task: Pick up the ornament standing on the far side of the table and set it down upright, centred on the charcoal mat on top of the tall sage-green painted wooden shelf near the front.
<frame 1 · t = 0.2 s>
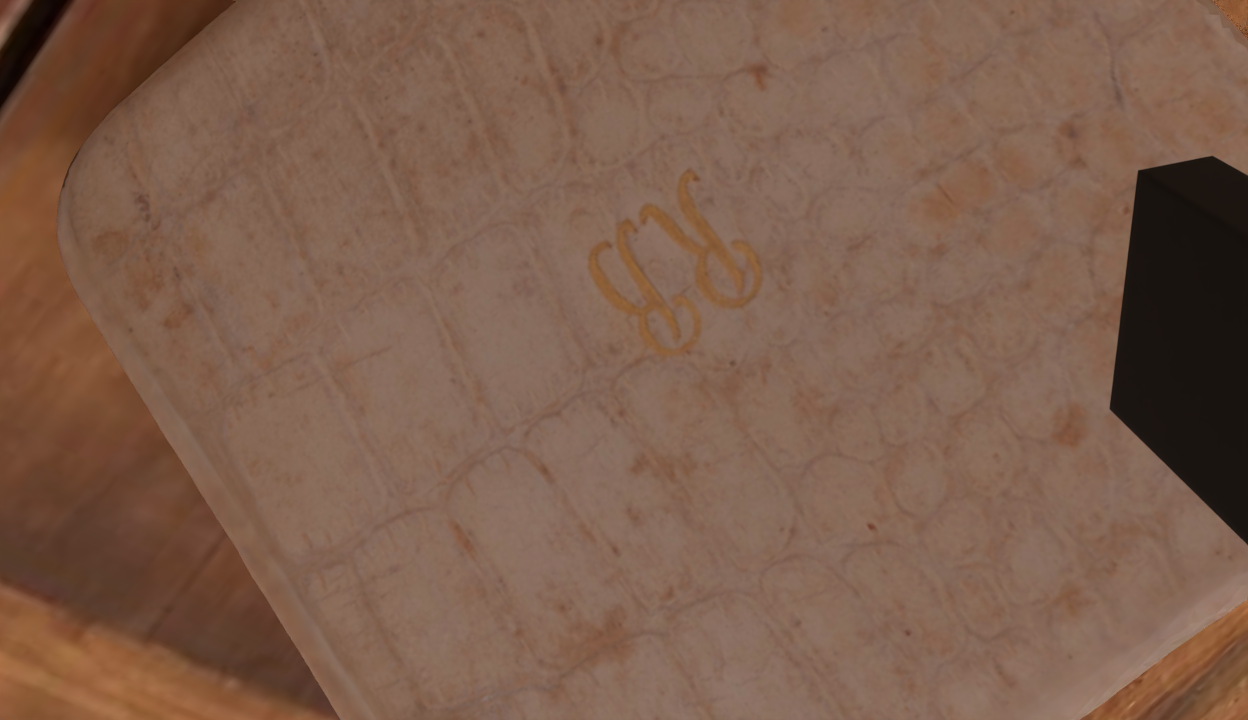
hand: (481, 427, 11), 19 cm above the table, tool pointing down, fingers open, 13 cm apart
case: (643, 196, 31), on the table
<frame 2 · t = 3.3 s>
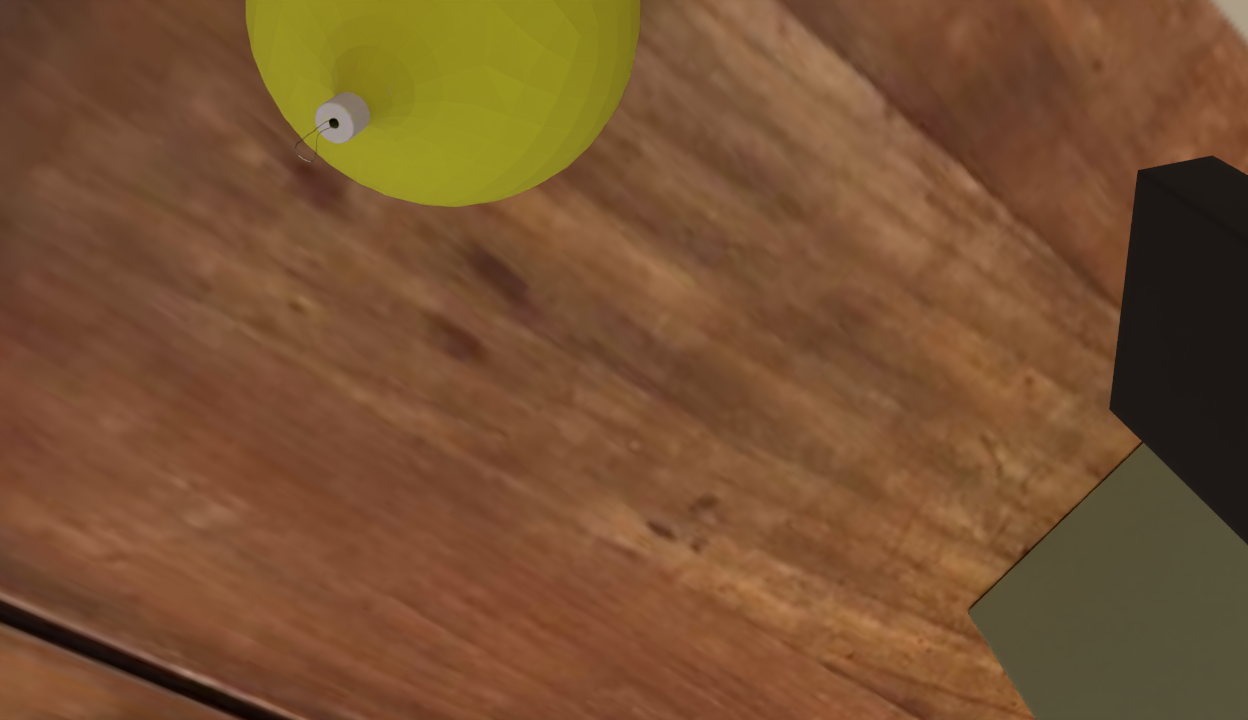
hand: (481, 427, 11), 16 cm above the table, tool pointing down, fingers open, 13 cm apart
shelf: (1212, 556, 38), on the table
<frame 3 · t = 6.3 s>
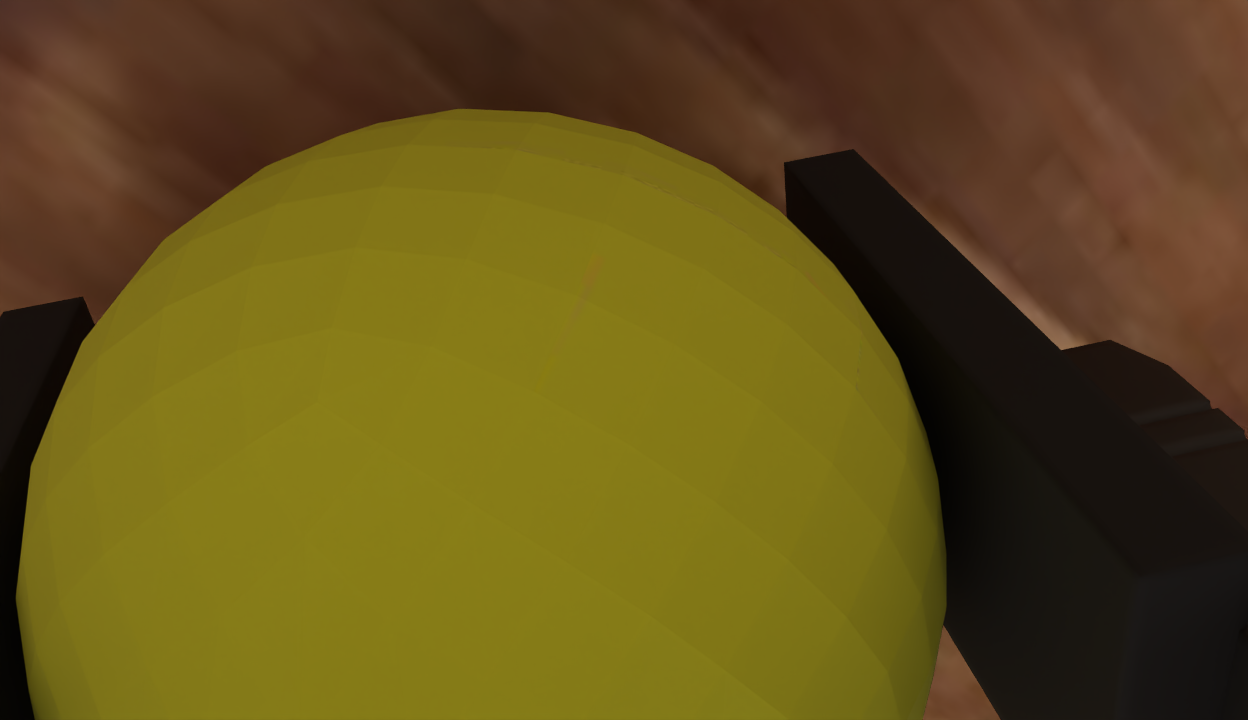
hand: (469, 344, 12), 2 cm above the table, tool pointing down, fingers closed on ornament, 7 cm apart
ornament: (468, 333, 13), point 1 cm above the table, touching gripper
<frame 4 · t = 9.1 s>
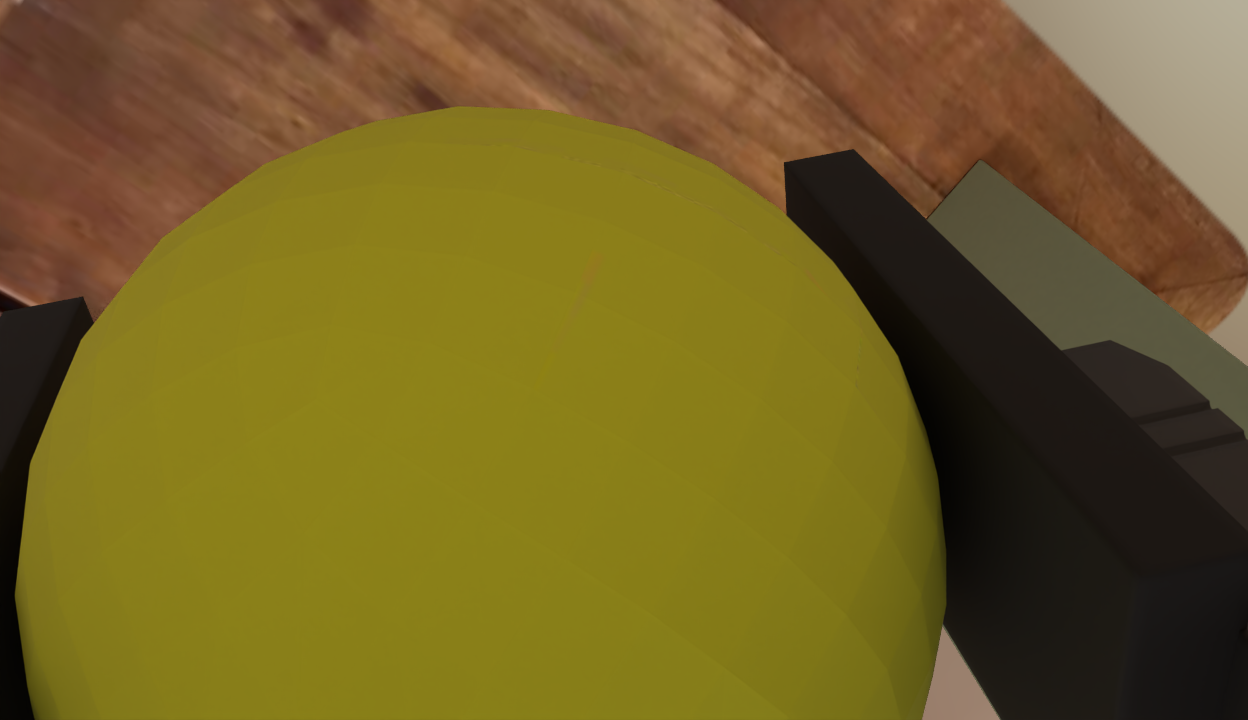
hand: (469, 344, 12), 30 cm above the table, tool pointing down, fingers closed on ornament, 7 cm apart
shelf: (971, 336, 51), on the table
ornament: (468, 331, 13), point 30 cm above the table, touching gripper
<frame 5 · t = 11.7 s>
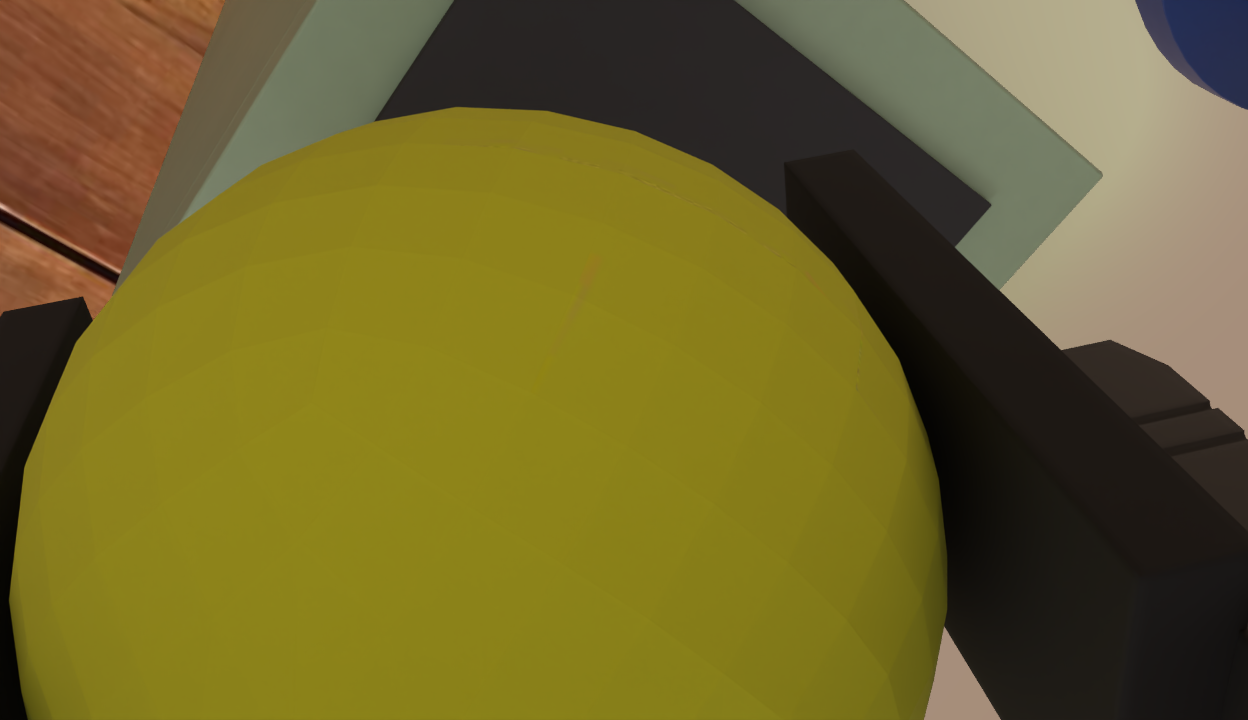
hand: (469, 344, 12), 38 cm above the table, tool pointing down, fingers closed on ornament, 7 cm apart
ornament: (467, 333, 13), point 37 cm above the table, touching gripper
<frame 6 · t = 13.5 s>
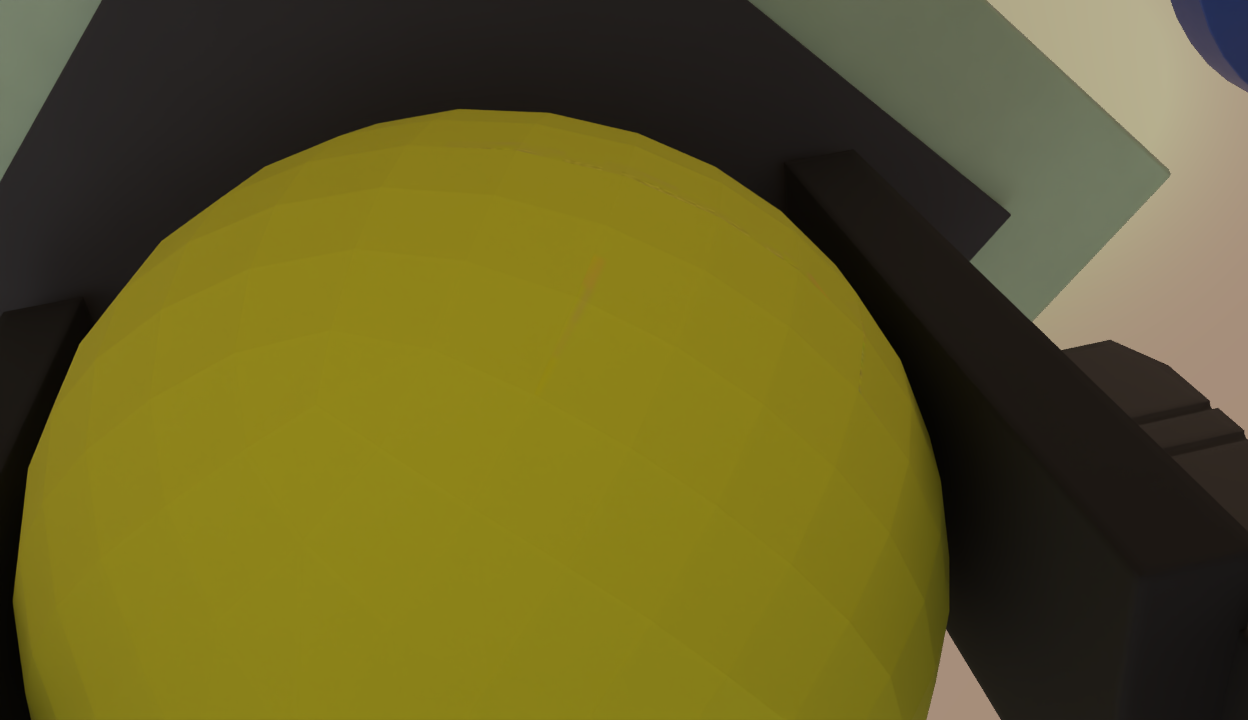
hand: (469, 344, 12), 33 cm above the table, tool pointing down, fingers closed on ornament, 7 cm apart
ornament: (469, 334, 13), point 32 cm above the table, touching gripper
when the fingers open (33 cm above the table, at t = 17.4 s): ornament stays where it is, resting on shelf.
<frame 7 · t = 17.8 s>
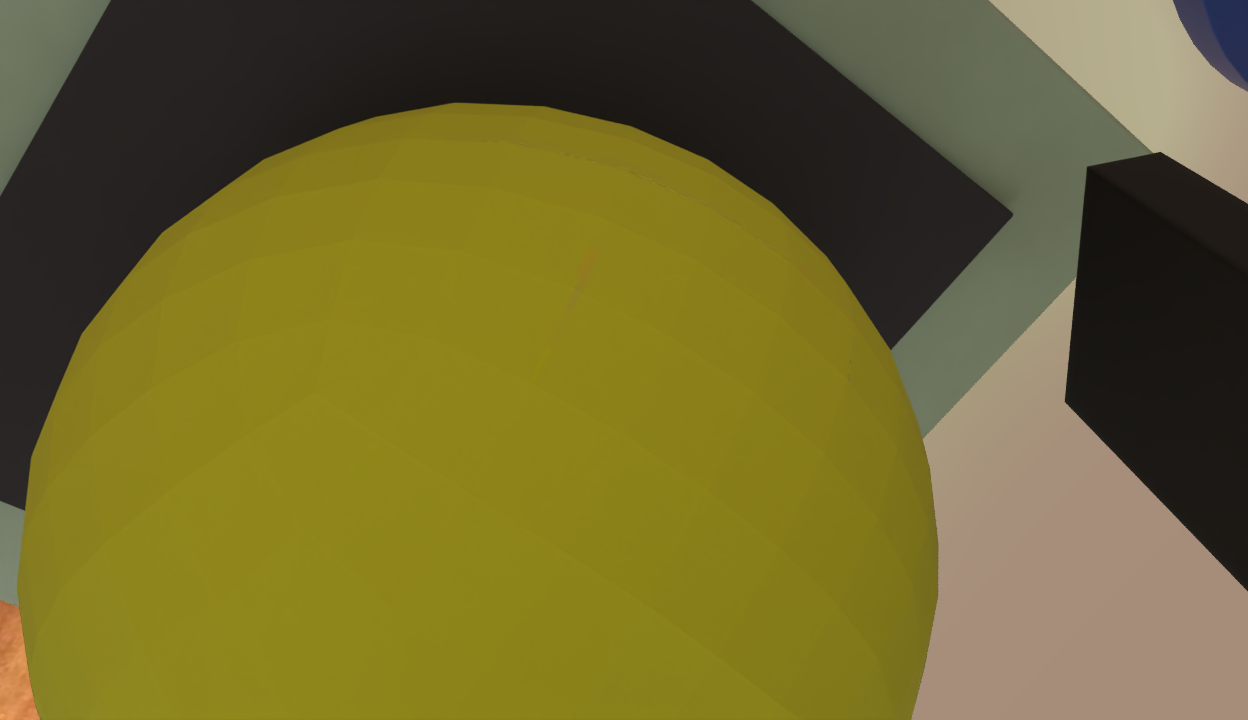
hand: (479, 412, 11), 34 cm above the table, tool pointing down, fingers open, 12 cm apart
ornament: (465, 326, 13), point 32 cm above the table, touching shelf
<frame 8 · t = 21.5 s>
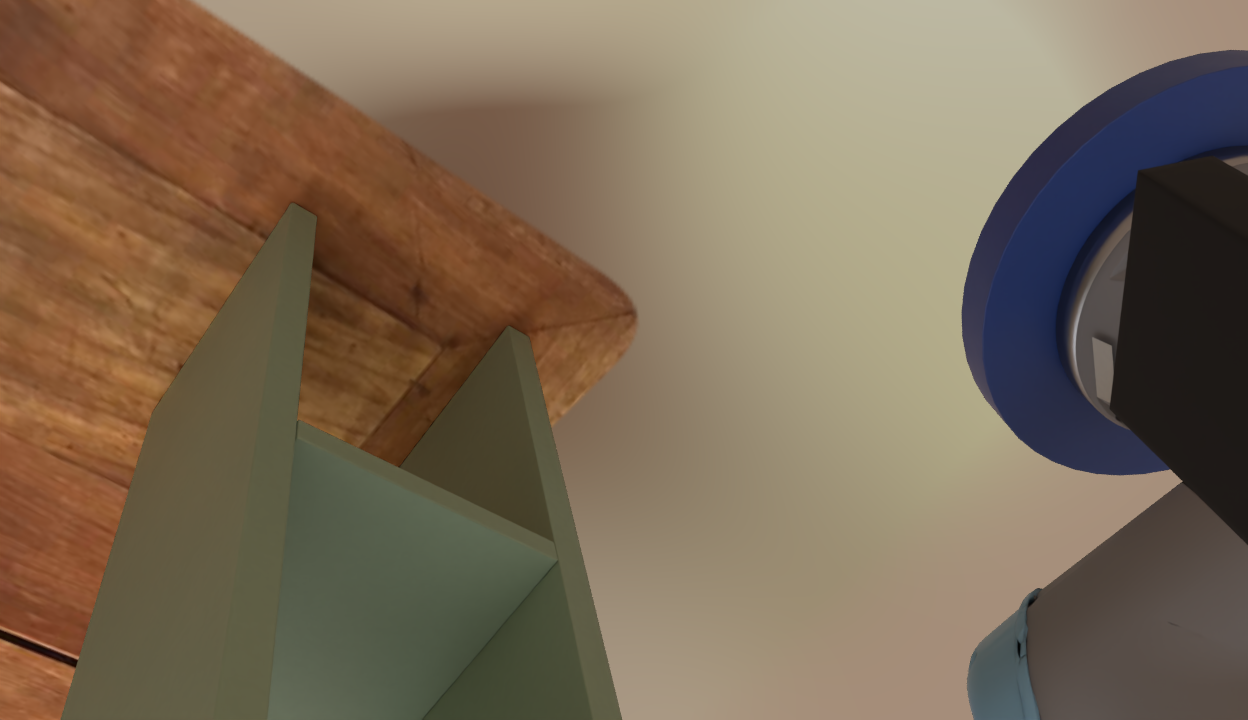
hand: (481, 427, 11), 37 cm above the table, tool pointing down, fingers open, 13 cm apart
shelf: (343, 374, 52), on the table
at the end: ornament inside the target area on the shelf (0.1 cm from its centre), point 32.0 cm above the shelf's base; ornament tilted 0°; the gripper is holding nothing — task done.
